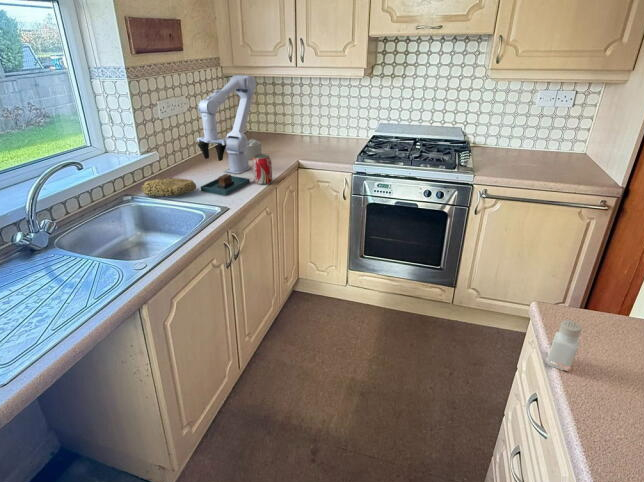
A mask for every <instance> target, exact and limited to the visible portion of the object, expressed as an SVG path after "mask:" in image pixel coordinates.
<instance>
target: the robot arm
mask: <svg viewBox="0 0 644 482" xmlns="http://www.w3.org/2000/svg"><path fill="white" fill-rule="evenodd" d="M256 86H257V83H256V80H255V78H254V76H253V75H252V74H251V75H241V74H234V75H233V76H231V77H230V78H229V81H228V82H227V83H226V84H225V85H224V86H223V87H222V88H221V89H214V90H213V92H212V93H211V94H210V95H207V96H206V98H205V99H201V100H199V102H198V104H197V112H199V114H200V117H201V121H202V128H203V136H198V137H196V142H197V146H198V148H199V149H200V151H201V153H202V155H203V157H204V159H205V160H207V159H209V158H210V150H209V148H210V144H212V145H213V144H214V149H215V150H216V154H217V160H218V161H219V162H221V161H223V160H224V154H225V151H226V153H227V154H228V155H227V157H228V165H229V168H228V169H226V170H225V172H226V173H227V172H228V173H234V174H241V173H244V172H245V171H247V170H250V169H251V167H250V166H249V165H250V164H249V160H248V154H247V153H246V152H245V150H246V148H247V140H248V137H247V136H246V134H245V130H246V127H247V122H248V119H249V118H248V117H249V115H250V111H251V107H252V102H253V98H254V94H255V89H256ZM233 92H235V93H236V95H238V96H239V98H240V99H239V103H238V107H237V110H236V115H235V119H234V122H233V126H232V130H231V131H229V132H228V133H227V135H226V137H225V139H224V138H220V137H219V134H218V126H217V125H218V124H217V116H216V114H217V113H218V110H219V108H220V106H221V105H223V104H224V103H225V102H226V101H227V97H228V96H229V95H230V94H232V93H233Z"/></svg>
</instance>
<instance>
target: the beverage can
mask: <svg viewBox="0 0 644 482" xmlns="http://www.w3.org/2000/svg"><path fill="white" fill-rule="evenodd" d="M252 166H253V167H252V169H253V182H254V183H255V184H256V185H260V186H267V185H269V184H271V182H273V166H272V158H271V157H270V154H267V153H262V154H258V155H255V156H254V159H252Z"/></svg>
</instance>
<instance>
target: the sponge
mask: <svg viewBox="0 0 644 482" xmlns="http://www.w3.org/2000/svg"><path fill="white" fill-rule="evenodd" d="M196 190H197V183H195V182H194V180H192V179H187V178H177V177H169V178H162V179H158V178H156V179H151V180H147V181H145V182H144V183H143V184H142V185H141V191H142V192H143V194H144V195H146V196H150V197H177V196H182V195H187V194H190V193H192V192H195V191H196Z"/></svg>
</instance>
